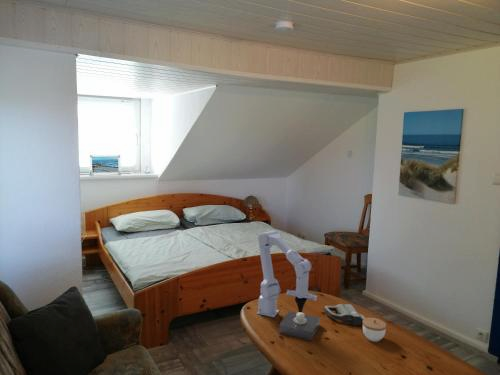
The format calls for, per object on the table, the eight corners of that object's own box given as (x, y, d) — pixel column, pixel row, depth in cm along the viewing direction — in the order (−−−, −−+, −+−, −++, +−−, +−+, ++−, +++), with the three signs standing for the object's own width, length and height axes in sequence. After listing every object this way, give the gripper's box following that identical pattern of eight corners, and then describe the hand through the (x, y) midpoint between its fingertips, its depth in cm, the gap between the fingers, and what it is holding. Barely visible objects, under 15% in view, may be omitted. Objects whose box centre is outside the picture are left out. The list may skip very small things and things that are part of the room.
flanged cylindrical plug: (291, 326, 184) (291, 315, 183) (295, 320, 190) (296, 310, 189) (304, 329, 181) (305, 318, 180) (308, 323, 187) (308, 312, 186)
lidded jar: (357, 333, 183) (358, 315, 182) (376, 331, 186) (378, 313, 184) (369, 345, 173) (370, 326, 171) (389, 343, 175) (391, 324, 174)
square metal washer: (279, 332, 181) (279, 324, 181) (288, 318, 196) (289, 310, 195) (311, 340, 175) (312, 332, 175) (319, 325, 190) (319, 317, 189)
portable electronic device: (347, 309, 209) (348, 300, 209) (370, 326, 190) (371, 317, 189) (321, 312, 204) (322, 303, 203) (342, 331, 185) (343, 321, 184)
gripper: (285, 285, 182) (283, 311, 183) (315, 290, 176) (313, 318, 178) (289, 280, 188) (288, 305, 190) (318, 285, 183) (316, 311, 184)
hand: (300, 311), depth 184 cm, fingers closed
